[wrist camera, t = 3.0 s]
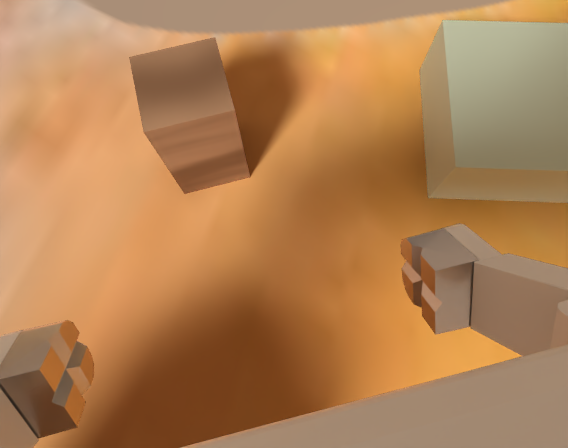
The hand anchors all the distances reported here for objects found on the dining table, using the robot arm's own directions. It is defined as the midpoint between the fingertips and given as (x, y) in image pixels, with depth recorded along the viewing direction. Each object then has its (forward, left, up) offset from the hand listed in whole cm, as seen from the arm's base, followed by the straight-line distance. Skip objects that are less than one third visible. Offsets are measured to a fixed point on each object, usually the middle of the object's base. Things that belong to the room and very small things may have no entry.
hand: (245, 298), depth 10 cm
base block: (-3, -20, -15) cm, 26 cm away
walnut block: (+11, -6, -15) cm, 20 cm away
